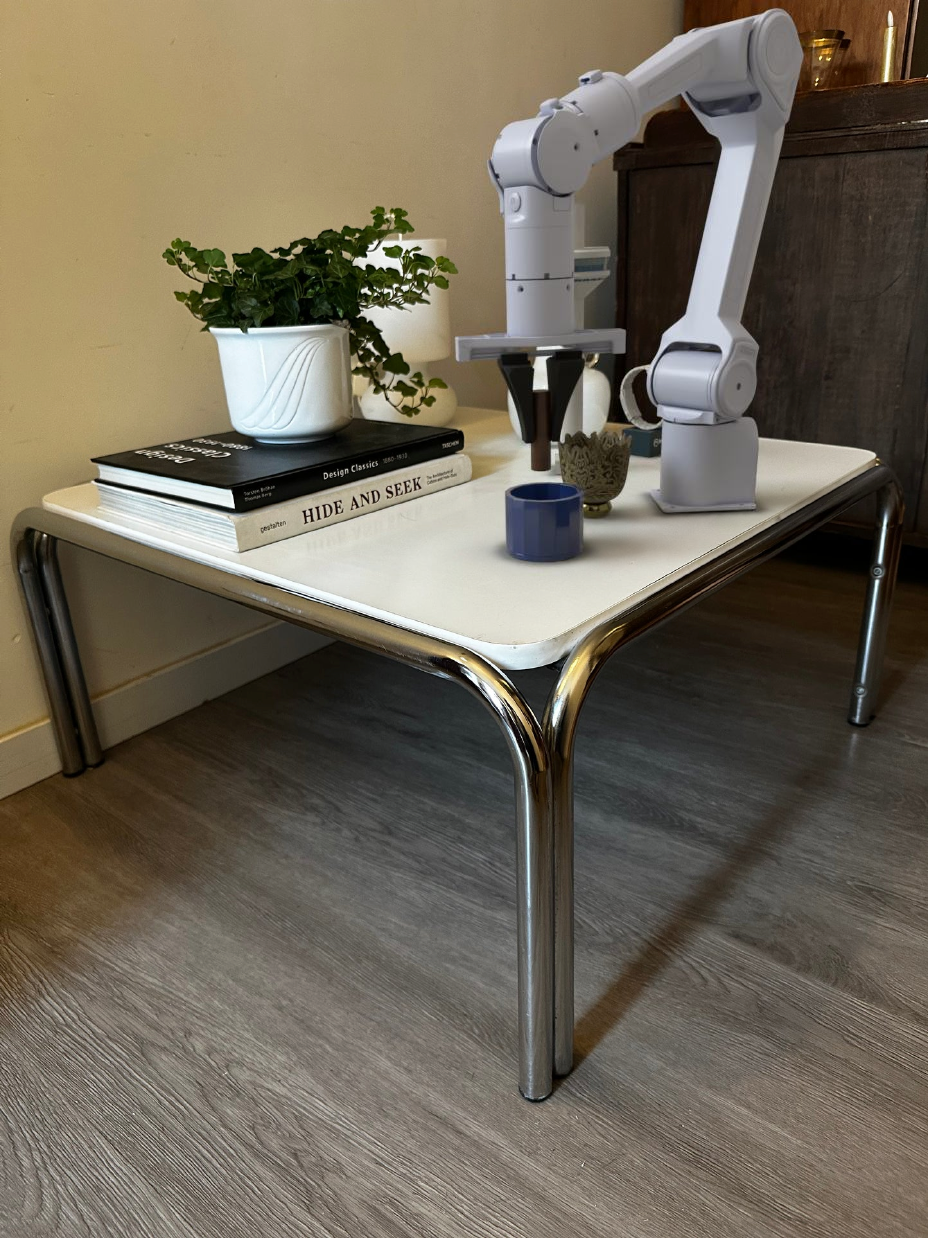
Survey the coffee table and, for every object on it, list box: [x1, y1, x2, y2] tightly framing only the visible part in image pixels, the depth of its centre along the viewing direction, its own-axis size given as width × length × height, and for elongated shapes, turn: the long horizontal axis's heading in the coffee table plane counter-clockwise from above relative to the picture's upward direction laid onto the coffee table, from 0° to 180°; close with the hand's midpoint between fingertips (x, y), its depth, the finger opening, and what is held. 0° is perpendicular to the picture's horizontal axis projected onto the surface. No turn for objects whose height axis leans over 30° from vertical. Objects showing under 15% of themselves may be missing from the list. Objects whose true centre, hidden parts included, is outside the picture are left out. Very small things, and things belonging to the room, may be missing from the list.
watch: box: [619, 364, 663, 458], centre depth 120 cm, size 6×8×11 cm
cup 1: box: [504, 481, 585, 563], centre depth 84 cm, size 7×7×6 cm
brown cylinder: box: [530, 388, 552, 473], centre depth 82 cm, size 2×2×7 cm
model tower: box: [554, 202, 611, 475], centre depth 108 cm, size 8×8×30 cm
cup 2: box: [557, 430, 632, 519], centre depth 94 cm, size 8×7×8 cm
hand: (541, 440), depth 83 cm, fingers closed on brown cylinder, 2 cm apart
